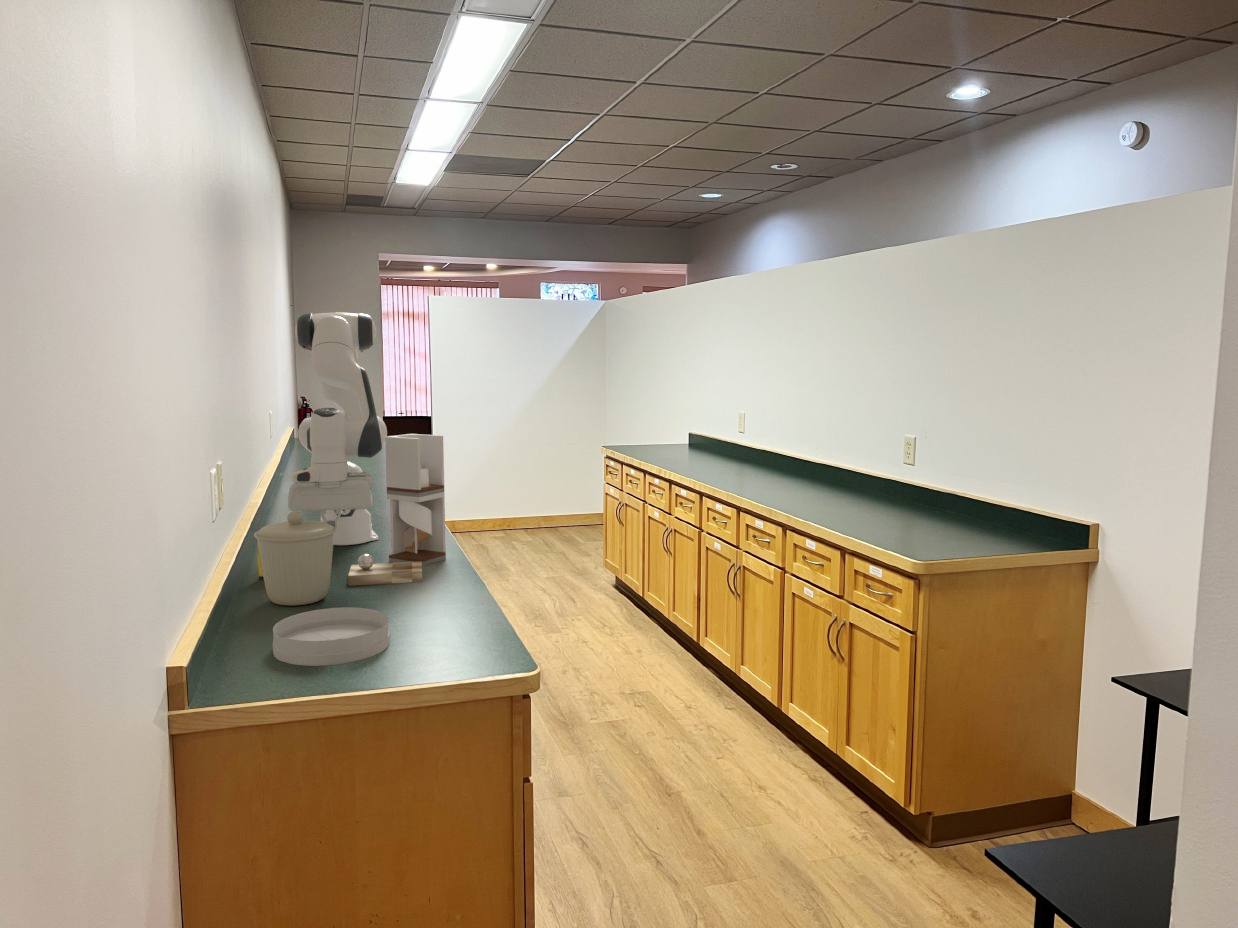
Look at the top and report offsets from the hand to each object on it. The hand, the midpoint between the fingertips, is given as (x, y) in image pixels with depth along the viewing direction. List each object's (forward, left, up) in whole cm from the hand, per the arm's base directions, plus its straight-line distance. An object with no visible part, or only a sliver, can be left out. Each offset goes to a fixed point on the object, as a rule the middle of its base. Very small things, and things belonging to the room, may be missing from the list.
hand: (331, 527), depth 222 cm
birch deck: (0, +13, -14) cm, 19 cm away
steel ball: (0, +8, -9) cm, 12 cm away
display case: (-18, +21, -14) cm, 31 cm away
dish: (+53, +4, -14) cm, 55 cm away
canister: (+17, -7, -14) cm, 23 cm away
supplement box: (-7, -15, -14) cm, 22 cm away
